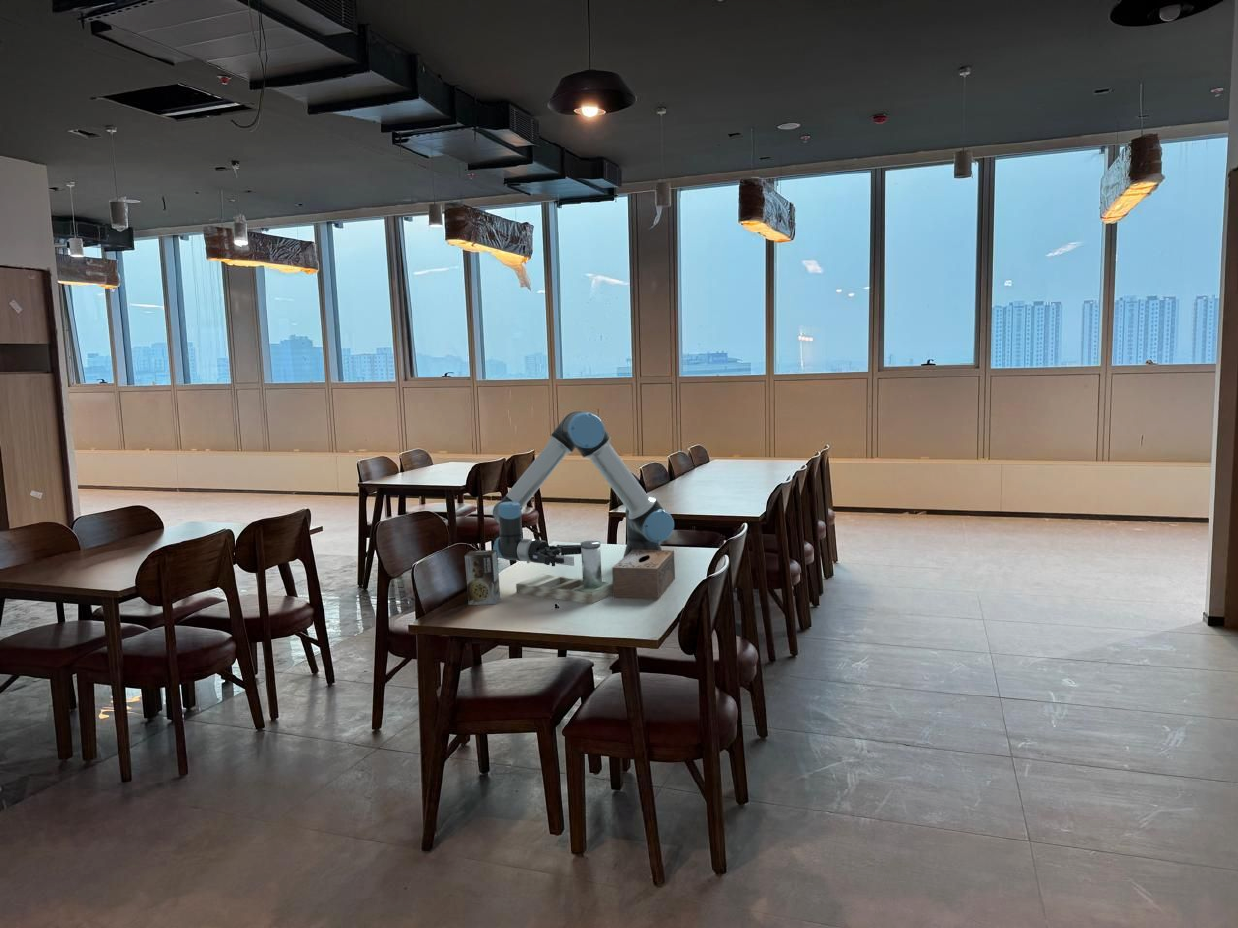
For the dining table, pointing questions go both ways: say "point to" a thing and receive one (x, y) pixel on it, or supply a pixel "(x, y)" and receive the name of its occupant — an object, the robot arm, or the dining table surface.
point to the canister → (591, 564)
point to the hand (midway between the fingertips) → (586, 556)
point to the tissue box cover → (643, 574)
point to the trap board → (563, 589)
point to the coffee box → (482, 577)
